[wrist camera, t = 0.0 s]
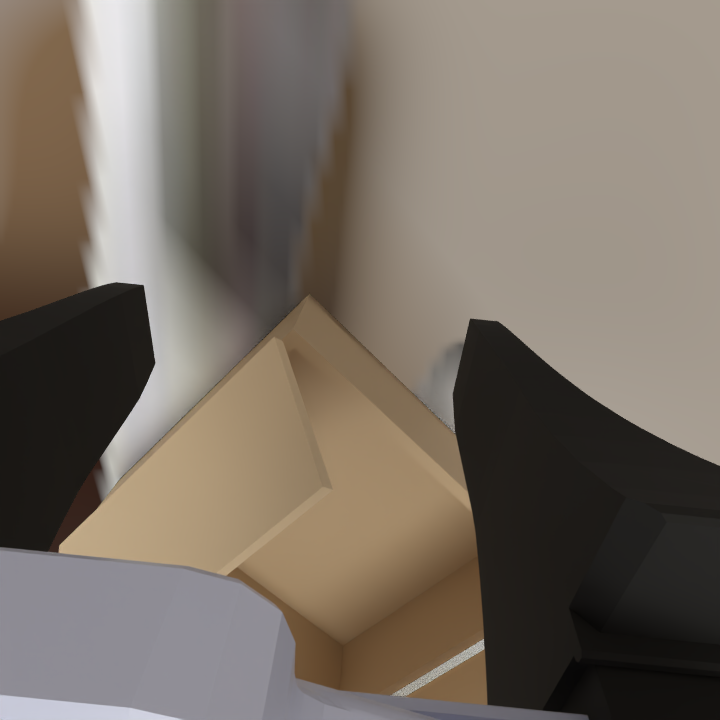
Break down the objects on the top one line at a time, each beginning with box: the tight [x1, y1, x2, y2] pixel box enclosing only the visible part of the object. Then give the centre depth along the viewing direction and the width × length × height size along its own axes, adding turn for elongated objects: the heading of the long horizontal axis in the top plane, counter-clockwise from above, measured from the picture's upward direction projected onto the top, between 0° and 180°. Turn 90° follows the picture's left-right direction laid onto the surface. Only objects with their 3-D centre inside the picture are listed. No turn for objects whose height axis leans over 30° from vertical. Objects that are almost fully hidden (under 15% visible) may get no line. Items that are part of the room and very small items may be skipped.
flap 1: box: [59, 337, 333, 576], centre depth 17 cm, size 13×6×1 cm
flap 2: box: [406, 649, 487, 705], centre depth 21 cm, size 13×6×1 cm
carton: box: [97, 294, 484, 695], centre depth 24 cm, size 14×16×4 cm
